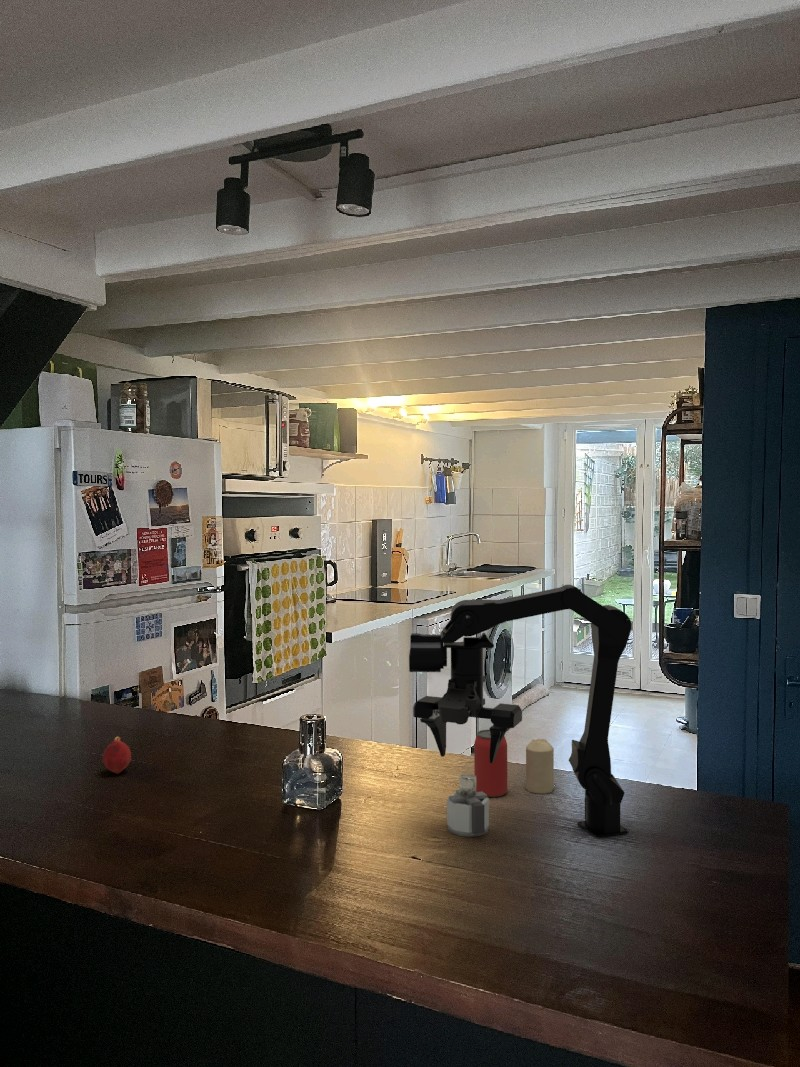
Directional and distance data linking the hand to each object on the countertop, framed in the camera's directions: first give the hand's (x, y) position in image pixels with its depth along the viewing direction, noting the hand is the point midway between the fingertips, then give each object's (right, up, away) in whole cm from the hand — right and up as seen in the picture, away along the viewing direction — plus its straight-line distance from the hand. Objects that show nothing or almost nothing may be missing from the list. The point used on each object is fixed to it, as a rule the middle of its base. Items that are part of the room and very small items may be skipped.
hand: (467, 759), depth 146 cm
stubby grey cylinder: (0, -11, 0) cm, 11 cm away
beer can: (+6, -12, +19) cm, 23 cm away
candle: (+16, -12, +20) cm, 29 cm away
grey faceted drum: (0, -13, 0) cm, 13 cm away
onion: (-73, -12, +32) cm, 81 cm away
